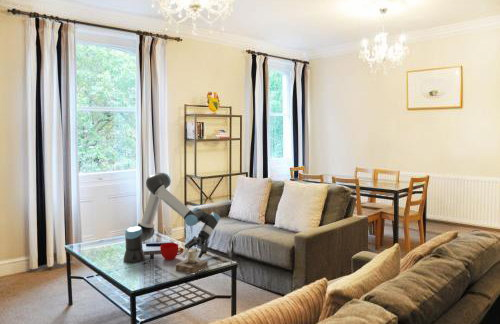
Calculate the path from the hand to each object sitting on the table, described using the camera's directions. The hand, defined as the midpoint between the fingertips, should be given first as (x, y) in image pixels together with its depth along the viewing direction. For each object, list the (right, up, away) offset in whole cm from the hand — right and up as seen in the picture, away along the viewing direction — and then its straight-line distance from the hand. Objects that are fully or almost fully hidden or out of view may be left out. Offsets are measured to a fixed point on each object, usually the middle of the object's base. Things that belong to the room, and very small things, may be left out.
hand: (189, 259), depth 286 cm
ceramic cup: (-16, -5, +22) cm, 27 cm away
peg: (+2, -7, +3) cm, 8 cm away
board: (+2, -7, +3) cm, 8 cm away
